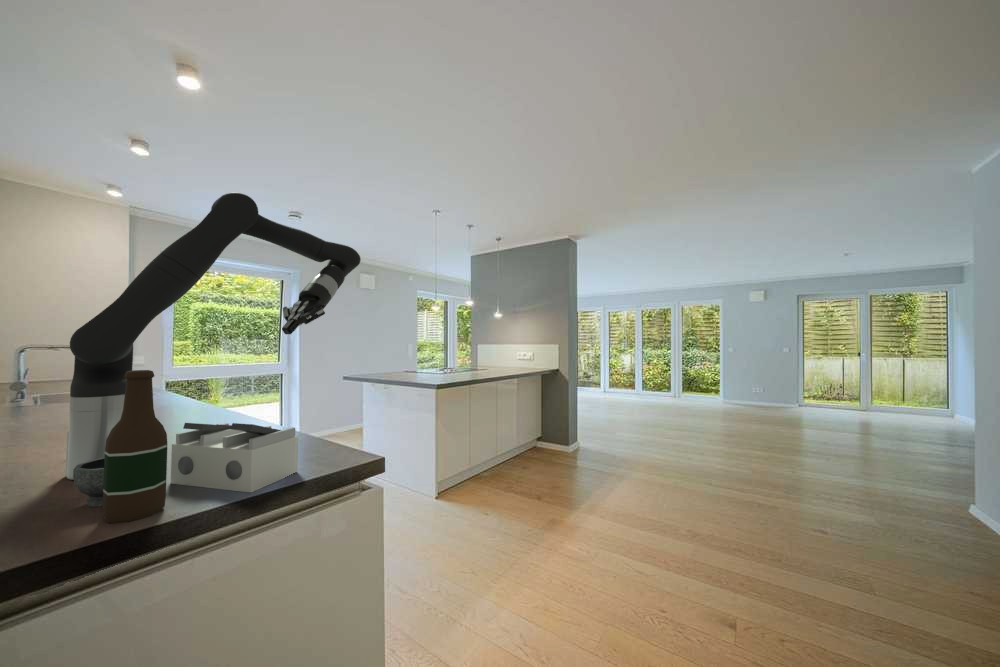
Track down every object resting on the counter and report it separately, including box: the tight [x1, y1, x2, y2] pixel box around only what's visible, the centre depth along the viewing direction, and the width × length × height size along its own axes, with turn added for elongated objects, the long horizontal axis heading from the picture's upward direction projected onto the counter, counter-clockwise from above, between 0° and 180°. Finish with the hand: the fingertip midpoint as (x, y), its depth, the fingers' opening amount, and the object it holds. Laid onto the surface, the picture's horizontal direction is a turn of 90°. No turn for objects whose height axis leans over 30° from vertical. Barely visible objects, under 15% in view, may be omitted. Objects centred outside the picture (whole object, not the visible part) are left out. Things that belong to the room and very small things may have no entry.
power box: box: [170, 422, 299, 493], centre depth 81 cm, size 20×12×10 cm, turn 77°
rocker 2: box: [231, 422, 282, 435], centre depth 80 cm, size 5×10×1 cm, turn 167°
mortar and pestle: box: [73, 458, 104, 508], centre depth 70 cm, size 11×9×12 cm
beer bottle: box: [102, 369, 168, 524], centre depth 64 cm, size 8×8×24 cm
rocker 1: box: [183, 422, 232, 431], centre depth 82 cm, size 5×10×1 cm, turn 167°
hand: (286, 332), depth 99 cm, fingers closed
